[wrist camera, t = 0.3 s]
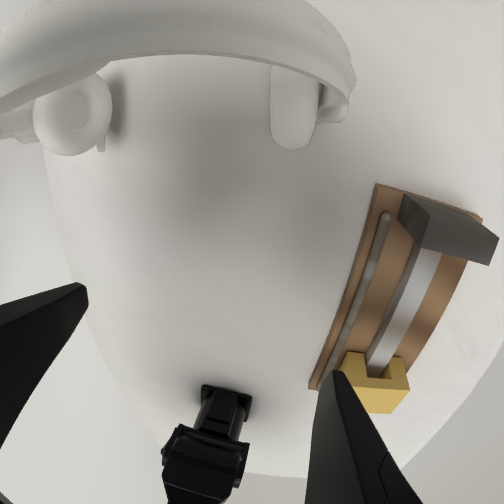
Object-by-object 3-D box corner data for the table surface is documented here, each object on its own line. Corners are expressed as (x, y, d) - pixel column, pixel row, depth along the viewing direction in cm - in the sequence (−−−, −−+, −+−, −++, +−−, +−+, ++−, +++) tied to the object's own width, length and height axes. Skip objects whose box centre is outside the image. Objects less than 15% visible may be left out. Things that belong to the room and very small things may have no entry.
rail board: (387, 390, 27) (393, 432, 22) (308, 382, 28) (305, 426, 23) (477, 215, 17) (516, 244, 12) (375, 183, 19) (400, 206, 13)
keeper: (385, 382, 25) (390, 413, 21) (334, 377, 26) (334, 410, 22) (401, 357, 23) (409, 390, 20) (347, 351, 24) (349, 386, 20)
